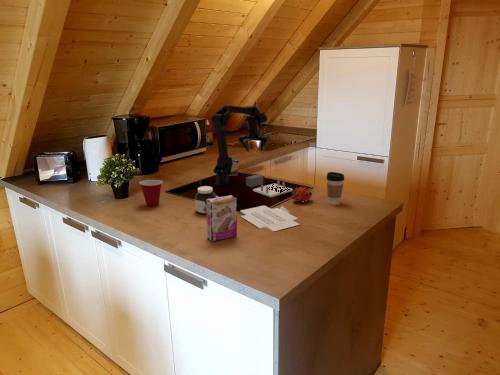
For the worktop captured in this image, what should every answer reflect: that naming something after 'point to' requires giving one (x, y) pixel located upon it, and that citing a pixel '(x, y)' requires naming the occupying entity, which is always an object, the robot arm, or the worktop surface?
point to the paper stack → (269, 218)
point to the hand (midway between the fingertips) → (255, 152)
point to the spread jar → (203, 199)
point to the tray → (272, 193)
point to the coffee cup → (334, 187)
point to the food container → (234, 167)
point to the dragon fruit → (301, 194)
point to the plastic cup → (151, 192)
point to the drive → (254, 180)
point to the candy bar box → (221, 218)
